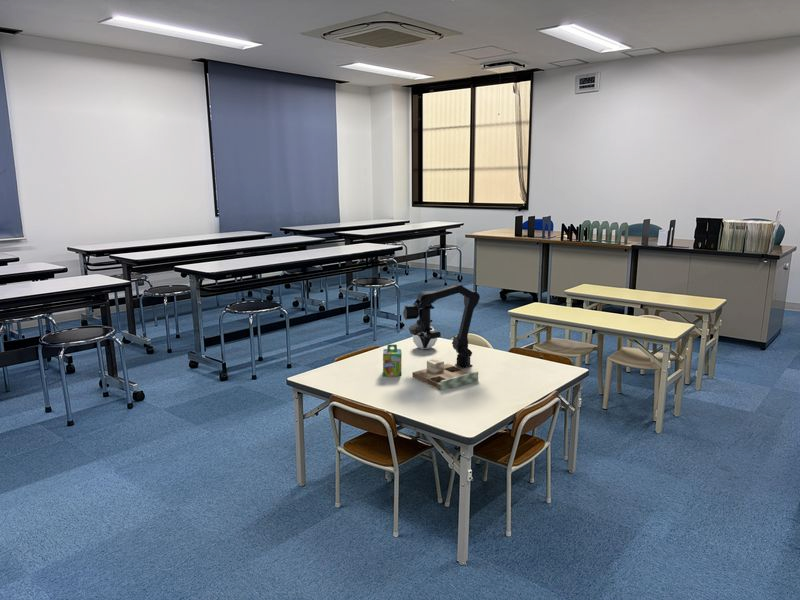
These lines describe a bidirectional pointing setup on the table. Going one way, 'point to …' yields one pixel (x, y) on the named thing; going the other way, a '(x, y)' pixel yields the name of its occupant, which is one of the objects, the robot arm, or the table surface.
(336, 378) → the table surface
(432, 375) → the board
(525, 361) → the table surface
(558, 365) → the table surface
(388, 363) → the chalk box
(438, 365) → the block
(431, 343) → the geodesic sphere
